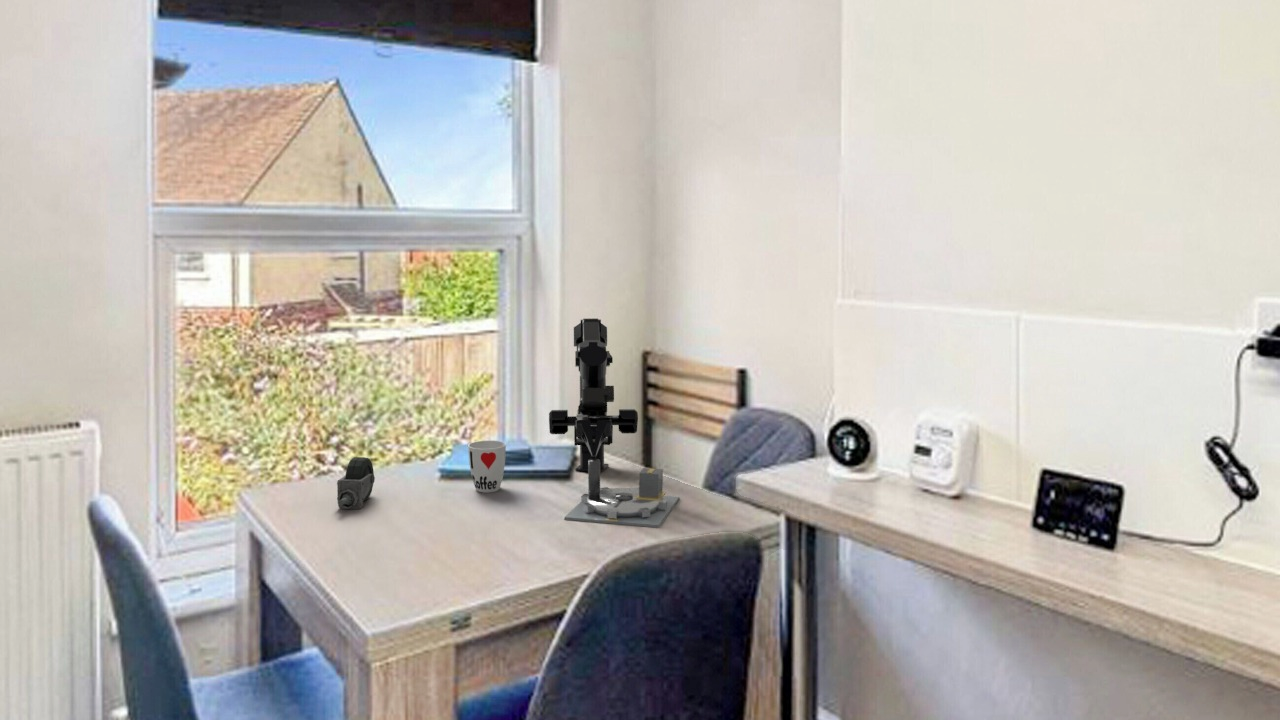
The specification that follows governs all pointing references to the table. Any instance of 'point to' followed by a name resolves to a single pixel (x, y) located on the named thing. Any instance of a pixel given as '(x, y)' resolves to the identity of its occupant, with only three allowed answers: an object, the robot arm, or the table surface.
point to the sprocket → (617, 498)
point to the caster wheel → (355, 483)
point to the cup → (487, 464)
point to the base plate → (650, 521)
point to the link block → (650, 483)
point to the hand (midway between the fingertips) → (594, 455)
